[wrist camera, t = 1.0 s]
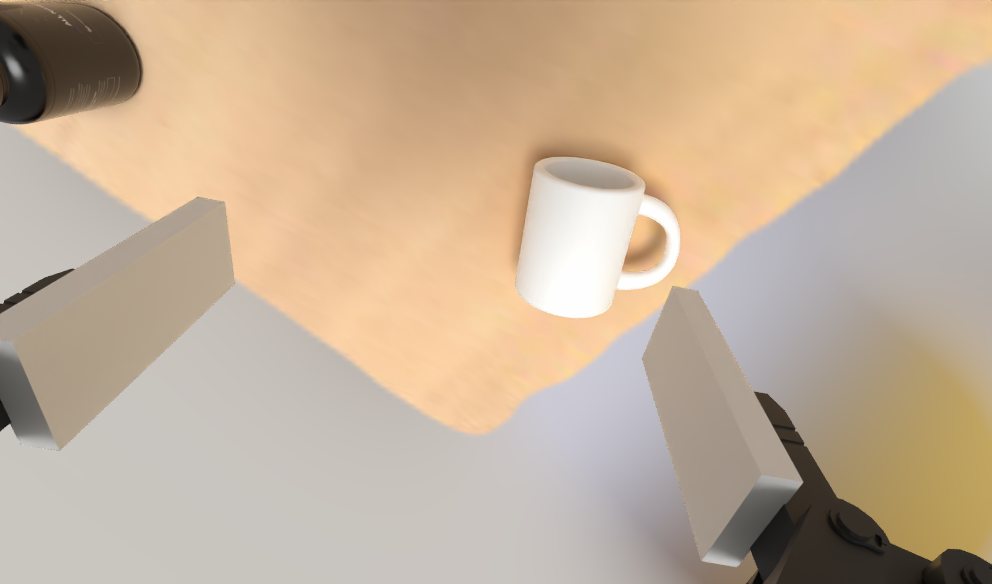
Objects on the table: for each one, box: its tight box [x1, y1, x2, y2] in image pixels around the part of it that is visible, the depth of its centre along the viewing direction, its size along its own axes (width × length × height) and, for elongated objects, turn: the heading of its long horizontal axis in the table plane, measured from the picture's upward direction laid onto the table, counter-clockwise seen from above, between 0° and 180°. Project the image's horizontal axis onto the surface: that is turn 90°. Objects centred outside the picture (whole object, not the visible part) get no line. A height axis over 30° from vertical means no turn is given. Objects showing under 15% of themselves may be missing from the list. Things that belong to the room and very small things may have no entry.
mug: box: [515, 157, 680, 318], centre depth 38 cm, size 12×10×8 cm
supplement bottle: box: [0, 2, 140, 124], centre depth 32 cm, size 7×7×12 cm
